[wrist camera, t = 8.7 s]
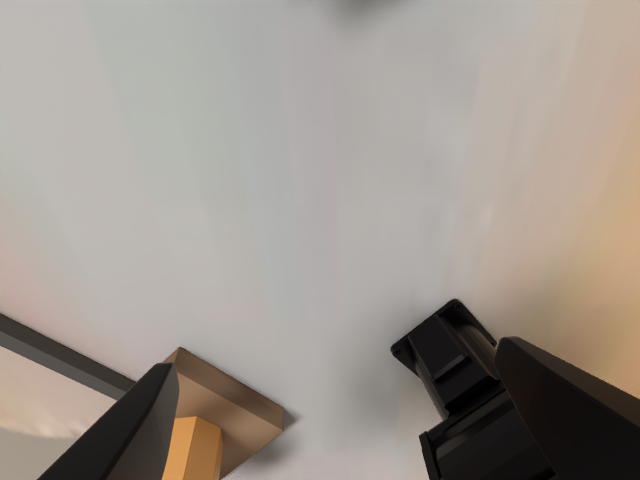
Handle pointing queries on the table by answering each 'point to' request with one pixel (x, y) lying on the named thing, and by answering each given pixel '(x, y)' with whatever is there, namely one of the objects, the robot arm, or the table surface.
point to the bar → (61, 359)
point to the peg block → (225, 408)
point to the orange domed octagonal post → (194, 450)
